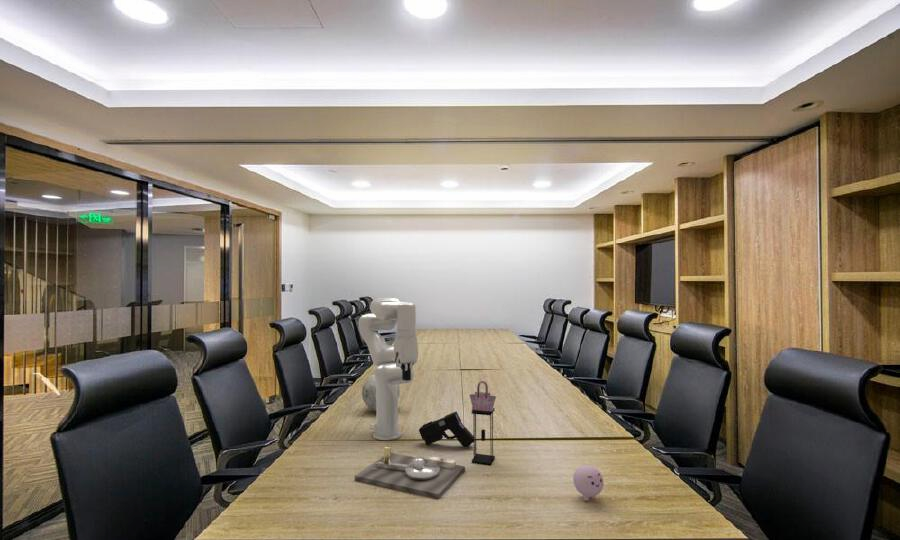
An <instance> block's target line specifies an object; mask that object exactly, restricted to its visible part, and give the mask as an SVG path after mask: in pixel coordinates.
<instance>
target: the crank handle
mask: <svg viewBox="0 0 900 540" xmlns="http://www.w3.org/2000/svg"><path fill="white" fill-rule="evenodd" d="M391 448H392V447H391V445H385V446H384V447H383V456H384V463H382V462H378V466H383V467H386V468H388V469H395V470H403V471H405V474H406V476H407V477H409V478H411V479H414V480H428V479H432V478H435V477H437V476H438V475H439V473H440V466H439V465H438V464H437V463H435V462H432V461H424V459H425V457H424V456H421V455H420V456H413V457H414V458H413V462H412V463H410V464H408V465H406V464H398V463H391V453H392V449H391Z"/></svg>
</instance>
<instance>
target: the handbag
mask: <svg viewBox="0 0 900 540" xmlns="http://www.w3.org/2000/svg"><path fill="white" fill-rule="evenodd" d="M481 384H483V385H484V387H485V392H484V391H480V385H481ZM488 387H489V386H488V382H486V381H484V380H481V381H479V382H478V383H477V385H476V388H477V389H476V391H474V393H473V394H472V393H471V394H469V399H470V403H471V411H470V412H471V413H470V414H472V415H473V420H472V421H473V425H472V426H473V436H474V442H473V458H472V459H471V464H476V465H481V466H492V464H493V462H494V461H495V459H496V456H495V455H494V412H495V407H494V406H495V401H496V399H497V396H495V395H491V392H489V388H488ZM477 415H480V416H481V415H482V416H489V417H490V419H489V421H490V426H489V427H490V428H489V430H490V432H489V433H490V442H489V443H490V444H491V448H490V455H489V454H482V453H477ZM480 435H481V439H480V440H481V441H482V442H485V441H486V429H481V431H480Z"/></svg>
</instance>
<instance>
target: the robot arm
mask: <svg viewBox="0 0 900 540" xmlns="http://www.w3.org/2000/svg"><path fill="white" fill-rule="evenodd" d="M369 309H370V310H369V311H370V312H371V313H365V314H363V315H361V316H360V317H359V319H358V330H359V333H360V334H359V335H360V336H361V338H362V340H363V341H364V342H365V344H366V346H367V349H368V352H369V354H370V357H371V358H370V359H371V361H372V364H373V365H374V366H375V369H374V371H373V374H374V378H375V384H376V411H375V412H376V416H375V417H376V420H375V421H376V423H374V422H371V423H370V425H369V429H370V430H374V432H372V437H373V439H375V440H379V441H392V440H396V439H399V438H400V437H402V434H403V433H402V430H400V429H399V398H398V394H397V392H396V391H395V390H394V388H393V387H392V386H393V385H396V384H399V385H403V384H408V383H411V381H413V379H414V373H415V372H414V369H413V366H414V365H415V364H417V363H418V360H419V343H418V339H417V330H416V329H417V327H416V326H417V323H416V321H417V320H416V318H417V317H416V315H417V314H416V313H417V312H416V311H417V310H416V309H417V307H416V304H415V303H413V302H410V301H400V300H399V298H397V297H378V298H375V299H373V300H372V301H371V302H370V304H369ZM395 327H396V337H395V339H394V343H393V344H392V345H390V344H387V343H386V340H385V338H384V337H383V336H382V335H381V334H380V333H378V332H379V331H391V330H392V329H394V328H395ZM377 331H378V332H377Z"/></svg>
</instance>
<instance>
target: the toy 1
mask: <svg viewBox="0 0 900 540" xmlns="http://www.w3.org/2000/svg"><path fill="white" fill-rule="evenodd" d="M446 431H450V432H451V433H452V434H453V435H452V436H451V435H448V434H447V433H446ZM418 432H419V434H420V435H419V436H421V439H422V441H424V443H425V445H426V446H430V445H432V444H434V443H436V442H438V441H441V440H443V438H445V439H446V440H454V439H456V440H457V441H458V442H459V444H460V445H461V446H462V447H463V448H464V449H468V448H469V446H471V445H472V444H474V434H472V433H471V432H470V430H469V429H468V428H467V427H466V426H465V424H463V422H462V420H461V417H460V416H459V414H458V411H453V412H452V413H448V414H447V415H444V416H443V417H442V418H439V419H437V420H433V421H429V422H427V423H424V424H423V425H422V426H420V428H419V429H418Z"/></svg>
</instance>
